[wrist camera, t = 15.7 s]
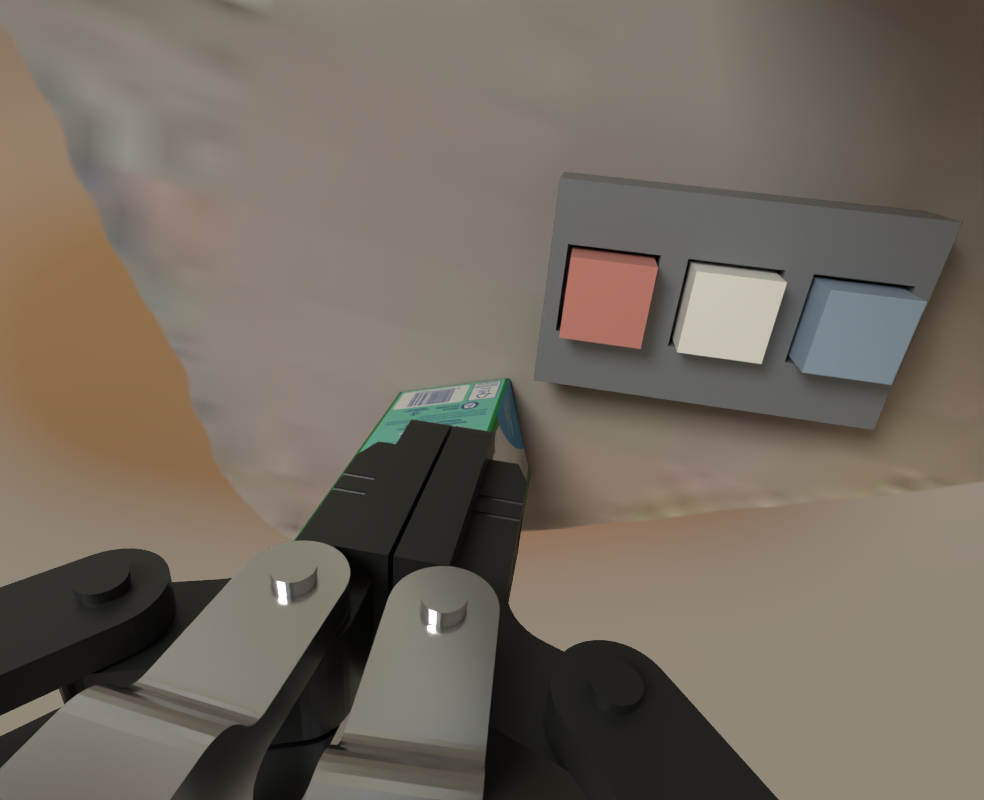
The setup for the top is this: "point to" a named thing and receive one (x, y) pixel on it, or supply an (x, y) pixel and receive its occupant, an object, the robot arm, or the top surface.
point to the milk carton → (457, 417)
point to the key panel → (742, 242)
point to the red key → (608, 297)
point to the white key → (727, 311)
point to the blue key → (855, 330)
